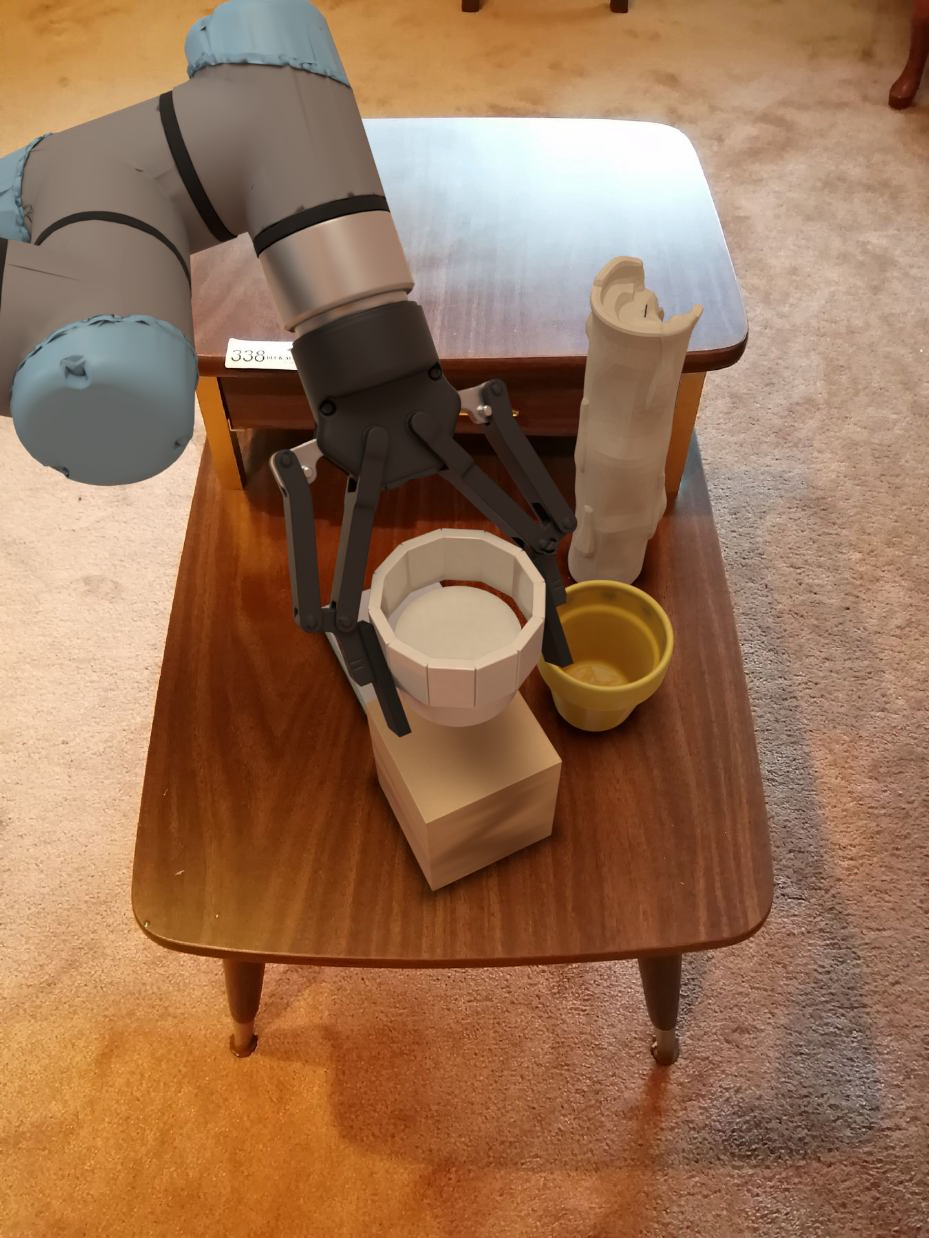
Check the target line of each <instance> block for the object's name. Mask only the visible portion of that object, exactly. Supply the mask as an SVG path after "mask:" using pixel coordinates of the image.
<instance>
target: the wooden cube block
mask: <svg viewBox="0 0 929 1238" xmlns="http://www.w3.org/2000/svg"><path fill="white" fill-rule="evenodd" d="M397 692H398V695H399V698H400V700H401V703H402V706H403V709H404V712H405V714H406V717H407V720H408V723H409V726H410V728H411V731H412V733H410V734H407V735H405V736H403V737H398V736H397V735H396V734H395V733H394V732H392V731H391V730H390V729H389V728H388V726H387V723H386V721H385V718H384V715H383V712H382V710H381V707H380V704H379V701H378V698H377V699H375V700H373V701H370V702H368V703H366V704H365V706H366V712H367V715H366V716H367V717H366V718H367V723H368V727H369V733H370V741H371V745H372V751H373V756H374V763H375V767H376V773H377V779H378V783H379V785H380V787H381V789H382V791H383V793H384V795H385V797H386V799H387V801H388V804H389V806H390V807H391V810H392V811H393V814H394V816H395V817H396V821H397V822H398V823H399V826H400V828H401V830H402V832H403V835H404V836H405V839H406V840H407V842H408V844H409V846H410V849H411V851H412V853H413V855H414V856H415V859H416V861H417V863H418V866H419V867H420V870H421V871H422V873H423V875H424V877H425V879H426V881H427V883H428V885H429V887H430V889H431V891H432V892H435V891H437V890H439V889H441V888H443V887H445V886H448V885H449V884H452V883H454V882H457V881H458V880H461V879H462V878H464V877H467V876H468V875H471V874H472V873H475V872H476V871H479V870H481V869H483V868H485V867H487V866H489V865H491V864H494V863H495V862H497V861H500V860H501V859H504V858H506V857H508V856H510V855H512V854H514V853H516V852H519V851H520V850H523V849H525V848H526V847H529V846H531V845H533V844H535V843H537V842H539V841H542V840H544V839H546V838H548V837H550V836H551V835H552V832H553V824H554V819H555V813H556V811H555V810H556V806H557V805H556V804H557V800H558V799H557V798H558V792H559V791H558V790H559V785H560V779H561V771H562V764H563V760H562V759H561V757H560V756H559V754H558V752H557V750H556V749H555V747H554V746H553V744H552V742H551V741H550V740H549V739H550V738H548V736H547V734H546V733H545V731H544V729H543V728H542V726H541V724H540V723H539V721H538V720H537V718H536V716H535V715H534V713H533V711H532V709H530V706H529V705H528V703H527V702H526V700H525V699H524V698H523V695H522V694H521V692H520V690H519V689H518V690H517V692H516V694H515V696H514V698H513V699H512V701H511V702H510V704H509V705H508V706H507V707H506V708H505V709H504V710H503V711H502V712H501V713H499V714H498V715H496V716H495V717H493V718H492V719H490V720H488V721H485V722H483V723H480V724H476V725H472V726H465V727H451V726H444V725H440V724H436V723H434V722H431V721H429V720H427V719H425V718H423V717H421V716H420V715H418V714H417V713H416V712H415V711H413V710H412V709H411V708H410V707H409V705H408V704H407V703H406V702H405V700H404V699H403V697H402V695H401V693H400V690H397Z"/></svg>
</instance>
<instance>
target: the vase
mask: <svg viewBox="0 0 929 1238" xmlns="http://www.w3.org/2000/svg"><path fill="white" fill-rule="evenodd" d="M645 274H646V273H645V268H644V262H643V260H642V259H641V258H639V257H635V256H629V255H619V256H615V257H613V258H612V259H610V260H609V261H608V262H607V263H606V264H604V265H603V267H601V269H600V270H599V272H598V273H597V274H596V275H595V276H594V279H593V282H592V287H591V290H590V293H589V303H590V304H589V305H590V313H589V315H588V317H587V318H586V320H585V335H586V337H587V339H588V348H587V356H586V362H585V363H586V364H585V372H584V382H583V383H584V384H583V398H582V400H581V402H580V406H579V422H578V431H577V436H576V437H577V438H576V444H575V449H574V464H575V482H574V493H575V513H574V515H575V517H576V519H577V524H578V525H577V528H576V530H575V531H574V532H573V533H572V537H571V542H570V545H569V550H568V556H567V564H568V571H569V573H570V576H571V577H572V578H573V580H574V581H575V582H577V583H580V582H584V581H591V580H611V581H617V582H622V583H625V584H628V585H632V584H633V583H634V582H635V580H636V579H637V578H638V577H639V575H640V574H641V572H642V568H643V563H644V561H645V560H644V559H645V555H646V550H647V545H648V541H649V540H651V539H652V538H653V537H654V535H655V533H656V531H657V527H658V523H659V522H660V521H661V519H662V518H663V516H664V514H665V511H666V510H667V504H668V503H667V501H668V499H667V493H666V485H665V484H666V473H665V469H666V461H667V456H668V452H669V448H670V442H671V437H672V431H673V421H674V413H675V406H676V401H677V396H678V390H679V385H680V380H681V376H682V372H683V368H684V364H685V359H686V356H687V353H688V349H689V344H690V341H691V337H692V334H693V331H694V329H695V328H696V325H697V324H698V322H699V321H700V319H701V317H702V315H703V313H704V310H705V309H704V306H703V305H702V304H700V303H698V304H695V305H693V306H692V307H691V308H690V311H688V312H686V313H684V314H676V315H675V314H674V315H672V316H671V317H669V319H668V320H666V321H665V322H664V318H665V311H664V307H663V306H660V305H659V300H658V297H657V295H656V293H655V292H654V291H652V290H650V289H648V288H647V287H646V285H645V279H646V278H645V277H646V276H645ZM577 583H576V584H577Z"/></svg>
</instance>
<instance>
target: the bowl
mask: <svg viewBox="0 0 929 1238" xmlns="http://www.w3.org/2000/svg"><path fill="white" fill-rule="evenodd" d="M384 559H385V560H383V562H381V563H380V565H379V566H378V567H377V568H376V569H375V570H374V571H373V573H372V577H371V584H370V588H369V589H370V596H369V602H368V616H369V623H370V624H372V625H373V626H374V629H375V631H376V634H377V637H378V640H379V643H380V645H381V648H382V651H383V654H384V656H385V659H386V662H387V665H388V667H389V670H390V673H391V675H392V678H393V681H394V684H395V686H396V687H397V688H398V689H399V690H400V693H401V695H402V697H403V699H404V700H405V702H406V703H407V704H408V705H409V707H410V708H411V709H412V710H413V711H415V712H416V713H417V714H418V715H420V716H421V717H423V718H425V719H427V720H429V721H431V722H434V723H436V724H440V725H444V726H451V727H465V726H472V725H476V724H480V723H483V722H485V721H488V720H490V719H492V718H493V717H495V716H496V715H498V714H499V713H501V712H502V711H503V710H504V709H505V708H506V707H507V706H508V705H509V704H510V702H511V701H512V699H513V698H514V696H515V694H516V692H517V690H518V691H519V689H520V687H521V686H522V685H523V683H524V682H525V681H526V679H527V678H528V677H529V675H530V674H531V672H532V671H533V670H534V668H536V666H537V663H538V662H539V660H540V657H541V649H542V640H543V631H544V622H545V593H546V584H545V580H544V579H543V577H542V576H541V574H540V573H539V572H538V570H537V569H536V567H535V566H534V564H533V563H532V561H531V560H530V559H529V557H528V556H527V554H526V553H525V551H522V549H521V548H519V547H518V546H517V545H516V544H514V543H511V542H509V541H507V540H506V539H503V538H502V537H499V536H497V535H495V534H493V533H491V532H489V531H485V530H483V529H466V528H465V529H463V528H443V527H442V528H438V529H435V530H432V531H429V532H426V533H424V534H422V535H421V534H420V535H418V536H416V537H413V538H411V539H408V540H405V541H402V542H401V543H400V544H398V546H396V547H395V548H394V549H393V551H391V552H390V554H389V555H388V556H387V557H386V558H384ZM446 580H447V581H464V582H466V581H467V582H481V583H484V584H485V585H487V586H489V587H491V588H493V589H495V590H497V591H499V592H500V593H502V594H505V595H506V596H508V597H510V598H511V599H512V600H513V602H514V603H515V605H516V606H517V608H518V609H519V610H520V612H521V614H522V616H524V618H525V620H526V621H527V622H526V623H525V624H524V626H523V628H522V625H521V623H520V620H519V618H518V616H517V615H516V613H515V612H514V610H513V608H511V607H510V606H509V605H508V603H506V602H505V601H504V600H503V599H502V598H500V597H498V596H497V595H495V594H493V593H492V592H489V591H487V590H484V589H481V588H478V587H473V586H466V585H452V586H444V587H443V586H442V587H443V588H438V589H435V590H432V591H429V592H427V593H425V594H423V595H421V596H420V597H418V598H416V599H415V600H414V601H413V602H411V603H410V604H409V605H408V606H407V607H406V608H405V610H404V611H403V612H402V613H401V615H400V617H399V619H398V620H397V623H396V625H395V629H394V632H393V630H392V628H391V626H390V625H389V617H390V616H391V615H392V613H393V612H394V611H395V610H396V609H397V608H398V607H399V606H400V604H401V603H402V602H403V601H404V600H405V599H406V598H407V596H408V595H409V594H410V593H411V592H414V591H416V590H419V589H421V588H424V587H427V586H429V585H432V584H434V583H437V582H440V583H441V582H443V581H446Z"/></svg>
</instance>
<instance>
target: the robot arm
mask: <svg viewBox="0 0 929 1238" xmlns="http://www.w3.org/2000/svg"><path fill="white" fill-rule="evenodd" d="M183 48H184V49H183V51H184V55H185V59H186V62H187V67H186V73H187V76H188V80H187V81H185V82H183V83H180V84H178V85H175V86H173V87H172V89H171V90H169V91H166V92H163V93H160V94H159V95H156V96H154V97H151V98H149V99H146V100H142V101H140V102H137V103H135V104H131V105H130V106H127V107H124V108H121V109H119V110H116V111H113V112H110V113H108V114H105V115H103V116H102V115H101V116H100V117H97V118H93V119H91V120H89V121H86V122H83V123H81V124H78V125H75V126H72V127H70V128H69V127H68V128H67V129H64V130H62V131H59V132H47V133H43V135H41V136H38V137H35V138H34V139H33V140H32V141H30V142H29V143H28V144H27V145H24V146H22V147H21V148H19V149H17V150H14V151H13V152H12V151H11V152H9V153H8V154H6V155H4V156H2V157H0V417H5V418H10V419H12V425H13V428H14V431H15V433H16V436H17V438H18V440H19V442H20V443H21V445H22V446H23V447H24V449H25V450H26V451H27V453H28V454H29V455H30V456H31V457H32V459H34V460H35V461H37V462H38V463H39V464H41V465H42V466H43V467H46V468H47V467H49V468H51V469H53V470H55V471H56V472H59V473H60V474H62V475H63V476H64V477H65V479H67V480H70V481H73V482H76V483H80V484H85V485H89V486H95V487H97V486H98V487H116V486H117V487H118V486H126V485H132V484H136V483H141V482H144V481H146V480H150V479H152V478H153V477H156V476H158V475H160V474H162V473H163V472H165V471H166V470H167V469H169V468H170V467H171V466H172V465H173V464H175V463H176V462H177V461H178V460H179V459H180V457H181V456H182V455H183V453H184V452H185V450H186V449H187V446H188V445H189V443H190V441H191V440H192V439H193V437H194V432H195V418H196V417H195V415H196V414H195V413H196V412H195V411H196V391H197V388H198V386H199V381H200V371H199V355H198V353H197V351H196V342H195V331H194V330H195V329H194V316H193V306H192V296H193V294H192V292H193V291H192V268H191V267H192V266H191V256H192V255H194V254H197V253H200V252H202V251H206V250H209V249H210V248H213V247H216V246H219V245H221V244H225V243H226V242H230V241H232V240H235V239H237V238H238V237H239V236H241V235H243V234H246V233H247V234H248V236H249V238H250V239H251V240H250V241H251V242H252V245H253V250H254V253H255V254H256V258H257V259H258V261H259V264H260V267H261V271H262V273H263V276H264V279H265V282H266V285H267V288H268V291H269V294H270V296H271V299H272V302H273V305H274V308H275V311H276V314H277V317H278V320H279V322H280V326H281V328H282V329H283V330H284V331H287V332H289V333H291V334H296V337H297V338H296V339H295V340H293V341H292V343H291V346H292V347H291V348H290V354H291V356H292V359H293V362H294V365H295V367H296V372H297V373H298V376H299V379H300V382H301V385H302V387H303V390H304V393H305V397H306V399H307V401H308V404H309V407H310V410H311V413H312V416H313V422H314V430H313V436H312V439H311V440H309V441H307V442H304V443H301V444H299V445H297V446H295V447H293V448H290V449H288V448H284V449H280V450H278V451H276V452H274V453H273V454H271V455H270V458H269V461H268V465H269V466H268V467H269V468H270V471H271V473H272V475H273V477H274V479H275V481H276V483H277V486H278V488H279V490H280V492H281V494H282V501H283V513H284V525H285V535H286V546H287V547H286V548H287V557H288V571H289V581H290V593H291V606H292V616H293V622H294V624H295V625H296V626H297V627H298V628H299V629H300V630H302V631H303V632H305V633H307V634H315V633H325V632H331V633H333V634H334V636H335V638H336V640H337V643H338V646H339V648H340V651H341V654H342V657H343V659H344V662H345V665H346V667H347V670H348V673H349V676H350V677H351V678H352V679H353V680H354V681H355V682H356V683H357V684H358V685H359V686H361V687H362V686H365V685H367V684H370V683H372V685H373V687H374V690H375V693H376V696H377V698H378V701H379V704H380V707H381V710H382V712H383V715H384V718H385V721H386V723H387V726H388V728H389V729H390V730H391V731H392V732H394V733H395V734H396V735H397V736H398V737H403V736H405V735H407V734H410V733H412V731H411V728H410V726H409V723H408V720H407V717H406V714H405V712H404V709H403V706H402V703H401V700H400V698H399V695H398V692H397V689H396V686H395V684H394V681H393V678H392V675H391V673H390V670H389V667H388V665H387V662H386V659H385V656H384V654H383V651H382V648H381V645H380V643H379V640H378V637H377V634H376V631H375V629H374V626H373V625H372V624H370V623H368V622H366V621H364V620H361V621H359V622H358V616H359V609H360V603H361V597H362V592H363V591H364V584H365V578H366V572H367V571H366V570H367V564H368V559H369V552H370V546H371V540H372V535H373V527H374V521H375V516H376V515H375V514H376V511H377V508H378V506H379V504H380V503H379V502H380V497H381V492H389V491H391V490H394V489H398V488H400V487H402V486H403V485H404V484H406V483H407V482H409V481H410V480H413V479H414V480H415V479H422V478H424V479H425V478H428V477H431V476H433V475H436V474H438V476H440V477H441V478H442V479H444V480H445V481H447V482H449V483H450V484H451V485H452V486H453V487H454V488H455V489H456V490H457V491H458V492H460V494H462V495H463V496H464V497H465V498H466V499H467V500H468V501H469V503H471V504H472V505H473V506H474V507H475V508H476V509H477V510H478V511H479V512H481V514H483V516H485V517H486V518H487V519H488V520H489V521H490V522H491V523H492V524H493V525H495V527H497V528H498V529H499V530H500V531H501V532H502V533H503V534H504V535H505V536H506V537H507V538H508V539H509V540H510V541H511V542H512V543H513V544H514V545H515V546H517V547H519V548H521V549H522V551H525V553H526V554H527V556H528V557H529V559H530V560H531V561H532V563H533V564H534V566H535V567H536V569H537V570H538V572H539V573H540V574H541V576H542V577H543V579H544V580H545V584H546V593H545V622H544V631H543V640H542V649H541V652H542V655H543V658H544V661H545V662H547V663H550V664H553V665H556V666H558V667H561V668H564V667H566V666H568V665H571V664H573V663H574V662H573V659H572V656H571V653H570V650H569V647H568V644H567V640H566V637H565V634H564V631H563V628H562V625H561V622H560V618H559V615H558V612H557V609H556V607H558V606H560V605H563V604H565V603H566V600H567V593H566V590H565V588H566V587H565V584H564V580H563V578H562V574H561V571H560V568H559V565H558V561H557V559H556V555H555V554H556V553H557V552H558V551H559V549H560V541H562V540H563V539H564V538H565V537H566V536H568V535H571V534H573V532H574V531H575V530H576V528H577V525H578V524H577V519H576V517H575V513H574V512H573V510H572V508H571V507H570V506H569V504H568V502H567V501H566V498H565V497H564V496H563V494H562V492H561V490H560V489H559V488H558V486H557V484H556V482H554V480H553V478H552V476H551V475H550V472H548V470H547V468H546V467H545V465H544V463H543V462H542V460H541V459H540V457H539V455H538V454H537V452H536V450H535V449H534V447H533V446H532V444H531V442H530V441H529V439H528V438H527V436H526V434H525V433H524V431H523V429H522V428H521V426H520V425H519V423H518V422H517V420H516V418H515V416H514V413H513V408H512V404H511V400H510V396H509V391H508V387H507V385H506V382H505V381H503V380H502V379H500V378H492V379H490V380H488V381H485V382H482V383H480V384H478V385H476V386H473V387H469V388H465V389H461V390H457V389H456V388H455V387H454V386H453V385H452V384H450V382H449V381H448V380H447V378H446V376H445V374H444V372H443V367H442V364H441V360H440V357H439V354H438V351H437V348H436V345H435V342H434V339H433V336H432V333H431V329H430V326H429V324H428V320H427V318H426V314H425V311H424V308H423V306H422V305H421V304H418V302H417V301H416V300H409V297H408V295H409V294H410V293H412V292H413V291H414V288H415V285H416V283H415V280H414V279H415V278H414V277H413V274H412V271H411V267H410V265H409V262H408V259H407V256H406V253H405V250H404V246H403V245H402V242H401V238H400V236H399V233H398V229H397V227H396V223H395V222H394V218H393V216H392V213H391V209H390V206H389V203H388V200H387V196H386V193H385V190H384V187H383V184H382V180H381V177H380V174H379V170H378V168H377V164H376V161H375V157H374V154H373V151H372V147H371V145H370V141H369V138H368V135H367V132H366V128H365V125H364V122H363V119H362V115H361V112H360V109H359V105H358V103H357V99H356V96H355V93H354V89H353V87H352V86H351V83H350V81H349V78H348V75H347V72H346V70H345V67H344V65H343V62H342V59H341V56H340V54H339V52H338V48H337V45H336V43H335V41H334V38H333V36H332V32H331V30H330V28H329V25H328V22H327V19H326V17H325V16H324V14H323V13H322V11H321V10H319V8H318V7H317V6H316V5H314V3H313V2H311V1H310V0H227V1H226V2H222V3H221V4H219V5H217V6H215V8H214V10H213V12H212V13H211V14H209V15H208V14H207V15H205V16H203V17H200V18H198V19H197V20H196V21H195V22H194V23H193V24H192V25H191V27H190V29H189V30H188V32H187V34H186V37H185V41H184V46H183ZM461 411H463V412H464V413H466V415H467V416H468V418H469V419H470V421H471V422H472V423H473V424H475V425H480V427H481V430H482V432H483V434H484V436H485V438H486V440H487V441H488V443H489V444H490V446H491V448H492V449H493V450H494V452H495V453H496V455H497V457H498V458H499V460H500V462H501V464H502V465H503V466H504V468H505V469H506V471H507V473H508V474H509V476H510V477H511V479H512V481H513V482H514V484H515V485H516V487H517V489H518V490H519V492H520V494H521V495H522V497H523V498H524V500H525V501H526V503H527V504H528V506H529V508H530V509H531V510H532V513H533V514H534V516H535V517H536V519H537V520H538V522H539V523H537V521H535V520H534V519H533V517H531V516H530V515H529V514H528V513H527V512H526V511H525V510H524V509H523V507H521V506H520V505H519V504H518V503H517V502H516V501H514V500H513V498H511V497H510V495H508V493H506V492H505V491H504V490H503V489H502V488H501V487H500V486H499V485H498V484H497V483H496V482H495V481H494V480H492V478H491V477H490V476H489V475H488V474H487V473H486V472H485V471H483V470H482V469H481V468H480V467H479V466H478V465H477V464H476V461H475V459H474V458H473V457H472V456H471V454H469V452H467V451H466V450H465V448H463V447H462V446H461V445H460V444H459V443H458V442H456V440H455V439H454V436H455V432H456V428H457V425H458V422H459V418H460V414H461ZM320 458H322V459H323V460H325V461H327V462H328V463H329V464H330V465H332V466H333V467H335V468H337V469H338V470H339V471H341V472H342V473H343V474H345V476H347V480H346V487H345V494H344V499H343V507H344V508H343V517H342V522H341V529H340V535H339V541H338V542H339V543H338V549H337V555H336V561H335V567H334V572H333V581H332V586H331V593H330V599H329V604H330V605H329V604H328V605H329V608H321V607H322V598H321V597H322V596H321V585H320V574H319V562H318V561H319V560H318V549H317V538H316V526H315V512H314V502H313V495H312V490H311V487H310V484H312V483H313V482H315V480H316V479H317V476H318V472H317V471H318V470H317V463H318V461H319V459H320Z"/></svg>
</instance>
